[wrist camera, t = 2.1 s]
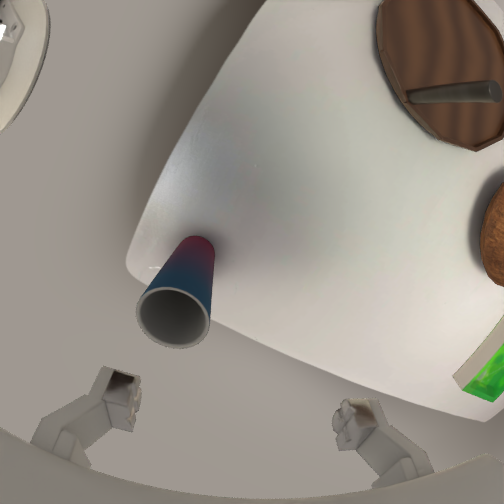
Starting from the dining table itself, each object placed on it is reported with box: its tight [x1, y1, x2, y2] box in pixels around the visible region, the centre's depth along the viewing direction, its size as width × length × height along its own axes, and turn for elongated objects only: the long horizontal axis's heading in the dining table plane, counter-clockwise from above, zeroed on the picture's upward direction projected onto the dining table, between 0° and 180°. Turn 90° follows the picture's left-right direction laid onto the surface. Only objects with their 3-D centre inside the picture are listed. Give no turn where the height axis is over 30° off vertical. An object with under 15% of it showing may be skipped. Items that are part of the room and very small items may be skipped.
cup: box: [136, 236, 215, 349], centre depth 32 cm, size 7×7×15 cm
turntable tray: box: [376, 0, 504, 152], centre depth 19 cm, size 26×26×16 cm
